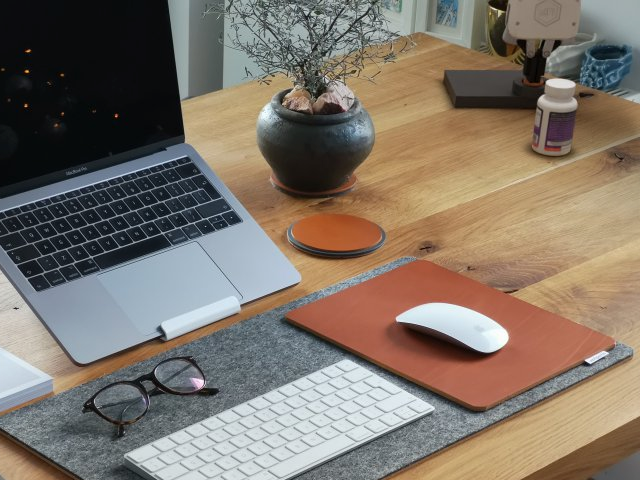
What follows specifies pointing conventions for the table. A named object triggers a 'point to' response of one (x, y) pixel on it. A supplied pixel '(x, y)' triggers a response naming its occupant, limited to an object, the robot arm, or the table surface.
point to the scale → (491, 89)
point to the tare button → (533, 83)
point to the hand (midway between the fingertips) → (532, 79)
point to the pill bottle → (555, 118)
